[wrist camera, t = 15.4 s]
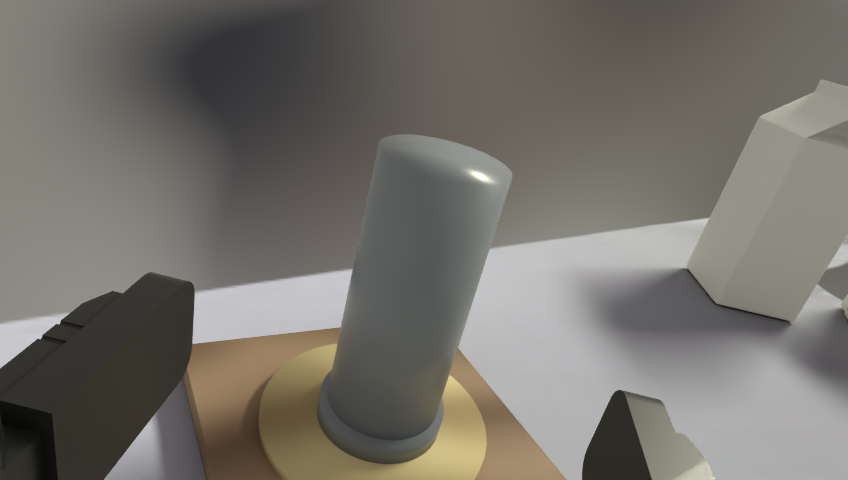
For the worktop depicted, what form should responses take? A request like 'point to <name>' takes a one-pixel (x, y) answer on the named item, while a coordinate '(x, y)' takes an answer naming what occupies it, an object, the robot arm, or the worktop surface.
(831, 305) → the worktop surface
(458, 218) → the grey rounded cylinder
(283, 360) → the post base
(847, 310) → the supplement can
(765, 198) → the milk carton
